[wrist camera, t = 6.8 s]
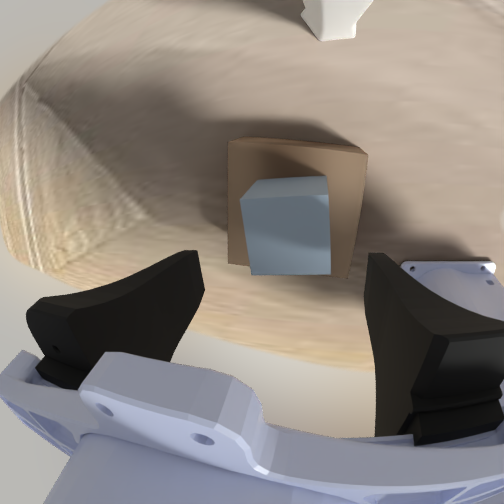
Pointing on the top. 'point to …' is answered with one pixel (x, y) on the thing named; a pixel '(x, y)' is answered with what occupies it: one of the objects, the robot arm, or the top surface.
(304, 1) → the perfume bottle
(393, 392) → the robot arm
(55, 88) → the top surface
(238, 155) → the walnut block
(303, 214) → the slate-blue cube
